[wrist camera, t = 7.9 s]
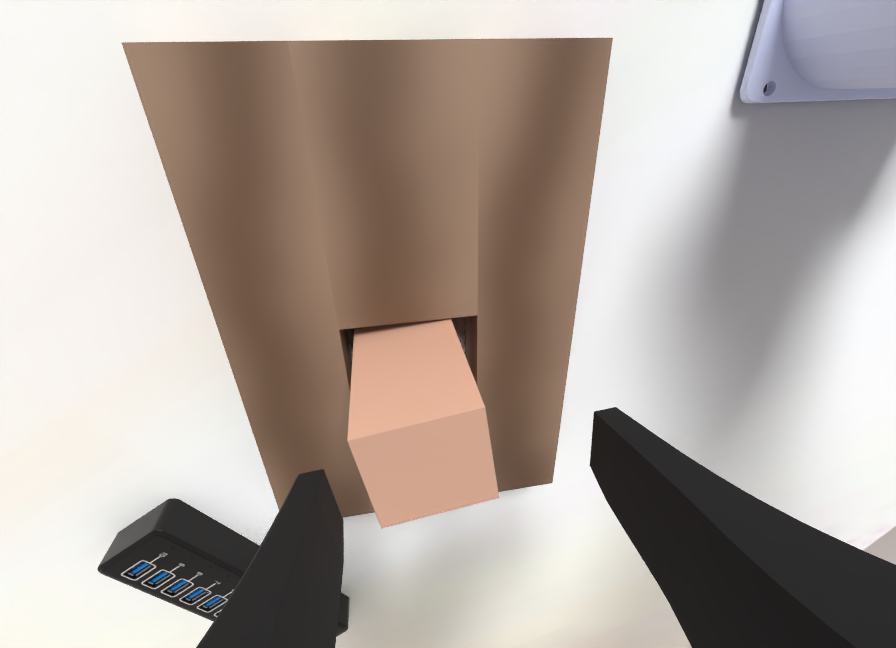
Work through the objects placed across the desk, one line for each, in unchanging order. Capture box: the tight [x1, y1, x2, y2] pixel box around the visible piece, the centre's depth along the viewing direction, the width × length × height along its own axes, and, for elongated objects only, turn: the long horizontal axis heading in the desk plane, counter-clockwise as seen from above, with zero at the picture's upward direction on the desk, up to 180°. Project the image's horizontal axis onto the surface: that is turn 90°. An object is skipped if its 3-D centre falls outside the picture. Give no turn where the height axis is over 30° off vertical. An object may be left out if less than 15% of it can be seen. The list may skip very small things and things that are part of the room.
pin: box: [347, 318, 499, 528], centre depth 16 cm, size 4×4×8 cm
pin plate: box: [122, 38, 613, 518], centre depth 18 cm, size 14×20×2 cm
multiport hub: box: [98, 499, 349, 636], centre depth 25 cm, size 4×14×2 cm, turn 33°
